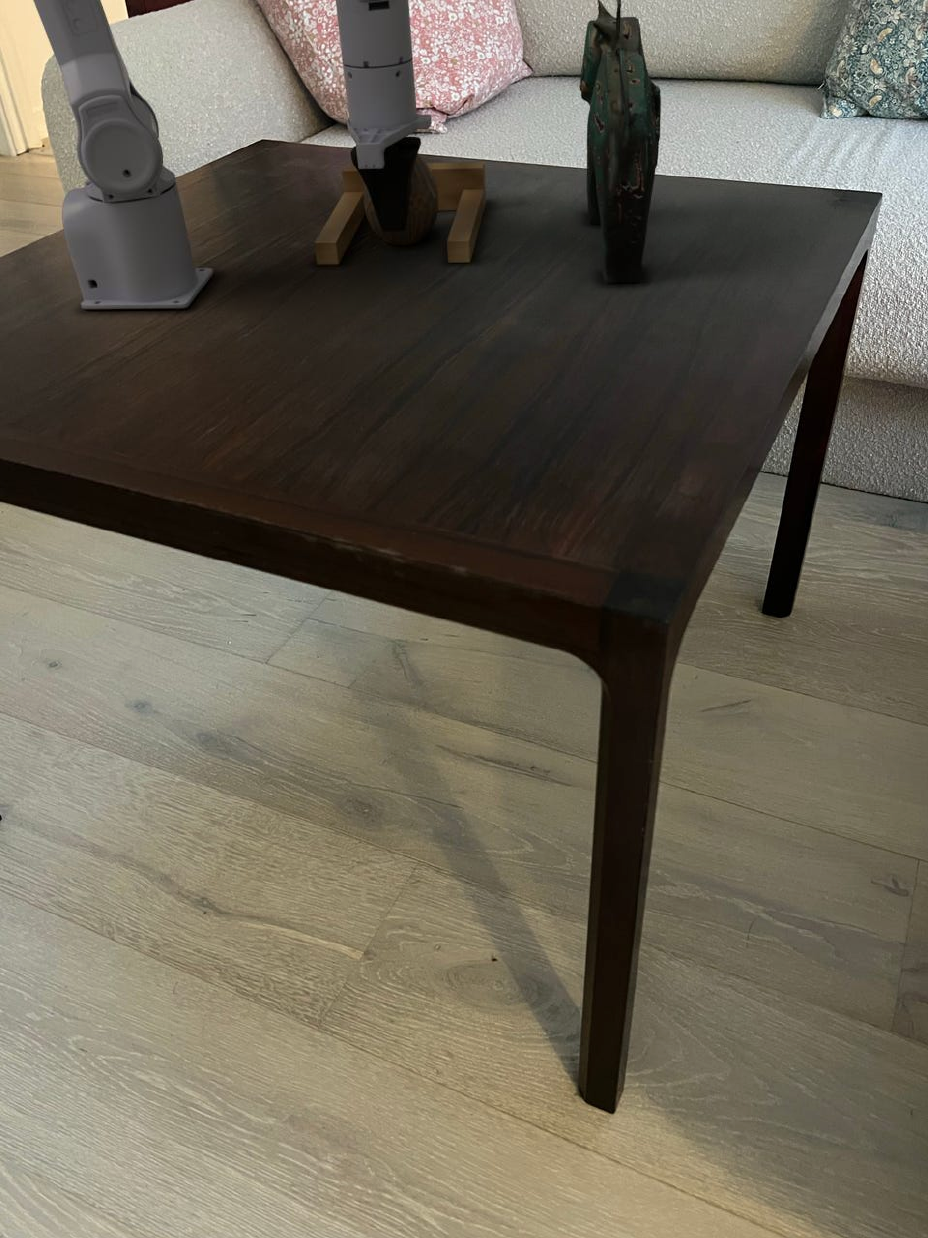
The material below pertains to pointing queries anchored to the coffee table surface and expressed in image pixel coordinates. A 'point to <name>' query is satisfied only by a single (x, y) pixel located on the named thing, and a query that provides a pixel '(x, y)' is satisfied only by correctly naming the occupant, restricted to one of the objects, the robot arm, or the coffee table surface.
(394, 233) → the vase
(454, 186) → the rack
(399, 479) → the coffee table surface
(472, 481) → the coffee table surface
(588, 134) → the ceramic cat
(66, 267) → the coffee table surface
